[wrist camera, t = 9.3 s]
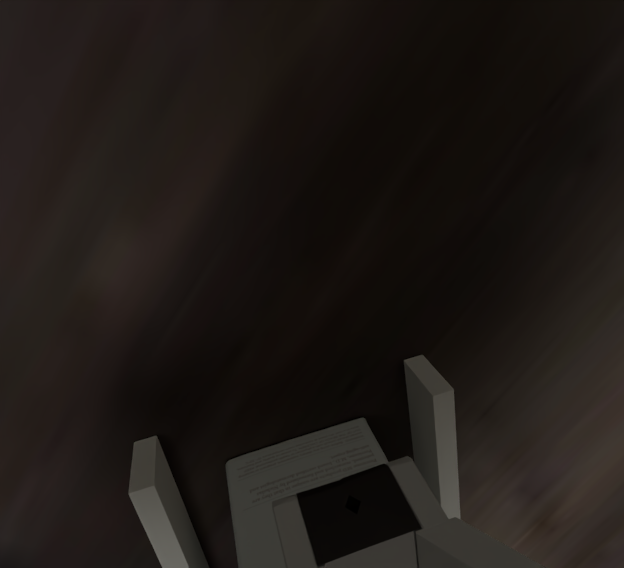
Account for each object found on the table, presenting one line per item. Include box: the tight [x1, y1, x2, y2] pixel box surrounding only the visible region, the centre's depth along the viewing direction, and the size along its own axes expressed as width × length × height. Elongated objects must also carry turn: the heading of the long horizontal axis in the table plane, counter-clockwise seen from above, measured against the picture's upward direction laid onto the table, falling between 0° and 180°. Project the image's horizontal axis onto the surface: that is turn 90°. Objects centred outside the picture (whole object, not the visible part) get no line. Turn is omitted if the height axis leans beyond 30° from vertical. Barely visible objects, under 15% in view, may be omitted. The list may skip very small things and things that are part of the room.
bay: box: [128, 355, 460, 568], centre depth 24 cm, size 12×14×3 cm
